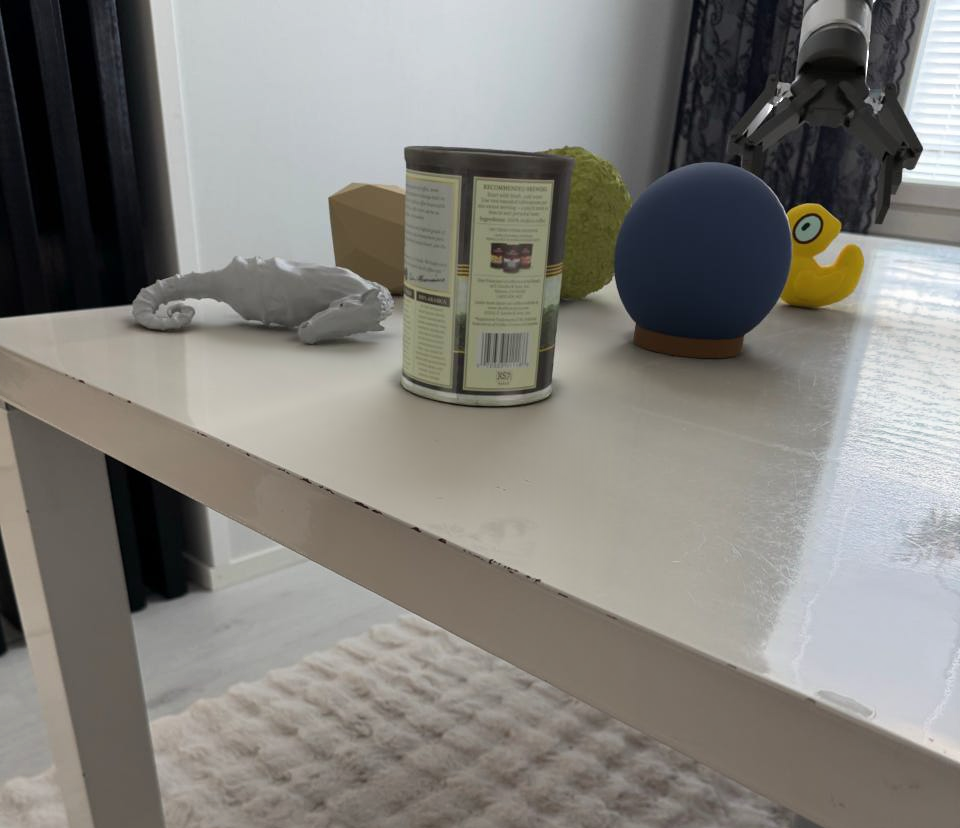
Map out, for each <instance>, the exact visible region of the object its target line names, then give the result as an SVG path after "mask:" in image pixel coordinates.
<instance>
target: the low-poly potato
mask: <svg viewBox="0 0 960 828" xmlns="http://www.w3.org/2000/svg"><path fill="white" fill-rule="evenodd" d="M405 195H406V189H404V188H402V187H400V186H398V185H396V184H383V183H382V184H381V183H366V182H365V183H364V182H351V183H349V184H347V185H346V186H344V187H343V188H341V189H339V190H338V191H337V192H334V193H333V194H332V195H329V196H328V197H327V200H328V211H329V222H330V224H329V225H330V231H331V238H332V239H331V240H332V247H333V255H334V256H333V257H334V264H335V265H334V266H336V267H341V268H345V269H348V270H350V271H352V272H353V273H355V274H357V275H358V276H360V277H361V278H363V279H365V280H369V281H370V282H376V283H378V284H380V285H381V286H384V287H385V288H387V289H388V291H389V292H390V294H391V295H404V253H405Z"/></svg>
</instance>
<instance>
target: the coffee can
mask: <svg viewBox="0 0 960 828" xmlns="http://www.w3.org/2000/svg"><path fill="white" fill-rule="evenodd" d="M536 152H537V151H522V150H521V151H520V150H509V149H508V150H506V149H495V148H494V149H492V148H477V147H462V146H461V147H460V146H458V147H457V146H440V145H408V146H405V147H404V148H403V157H404V161H405V190H406V195H405V253H404V294H403V313H402V315H403V317H402V366H401V367H402V368H401V371H402V372H401V376H400V384H401V385H402V387H403V388H404V389H406V390H407V391H409V392H411V393H413V394H415V395H417V396H420V397H423V398H427V399H430V400H435V401H439V402H443V403H444V402H445V403H451V404H457V405H463V406H473V407H475V406H476V407H477V406H478V407H510V406H519V405H520V406H521V405H526V404H531V403H535V402H539V401H542V400H544V399H546V398H548V397H549V396H550V395H551V394H552V393H553V384H552V383H553V372H554V363H555V362H554V361H555V350H556V339H557V331H558V319H559V310H560V299H561V298H560V289H561V278H562V268H563V258H564V249H565V238H566V228H567V218H568V207H569V196H570V186H571V176H572V173H573V171H574V168H575V159H574V158H573V157H569V156H562V155H555V154H546V153H536Z"/></svg>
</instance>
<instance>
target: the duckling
mask: <svg viewBox="0 0 960 828" xmlns="http://www.w3.org/2000/svg"><path fill="white" fill-rule="evenodd" d="M786 215H787V218H788V221H789V225H790V229H791V235H792V261H791V268H790V272H789V276H788V279H787V282H786V285H785V287H784V290H783V292H782V294H781V296H780V298H779V299H781V301H783V302H784V303H786V304H788V305H790V306H792V307H793V306H794V307H805V308H820V307H821V308H822V307H826V306H830V305H833V304H836V303H839V302H841V301H844V300H846V299H847V298H848V297H849V296H851V295H852V294H853V293H854V291H855V290H856V288H857V286H858V284H859V282H860V279H861V277H862V274H863V270H864V266H865V257H864V254H863V250H862V248H861V247H860V246H859V245H857V244H856V243H847V244H846V245H845V246H843V248H842V249H841V251H840V252H839V254H838V256H837V257H836V259H835V260H834V262H833V263H831V264H828V265H827V264H826V265H820V264H819V263H818V261H817V259H816V258H814V257H816V256H817V255H820V254H823V252H825V251H826V250H827V249H828V247H829V246H830V245H831V243H832V242H833V241H834V240H835V239H837V237H838V236H839V234H840V233H841V229H842V222H841V221H840V220H839V219H838V218H836V217H835V216H834V215H832V214H831V213H830V212H829V211H828V210H827V209H826V208H825V207H823V206H822V205H821V204H819V203H803V204H799V205H797V206H794V207H792V208H791V209H790V210H788V212H787V213H786Z"/></svg>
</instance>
